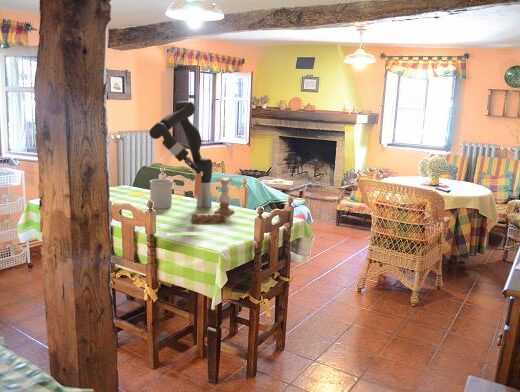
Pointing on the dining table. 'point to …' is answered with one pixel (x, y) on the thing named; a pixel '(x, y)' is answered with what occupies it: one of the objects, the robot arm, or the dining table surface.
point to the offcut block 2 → (214, 215)
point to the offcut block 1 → (202, 215)
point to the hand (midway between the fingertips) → (199, 172)
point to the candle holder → (224, 198)
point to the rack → (207, 220)
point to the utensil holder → (161, 193)
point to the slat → (197, 184)
